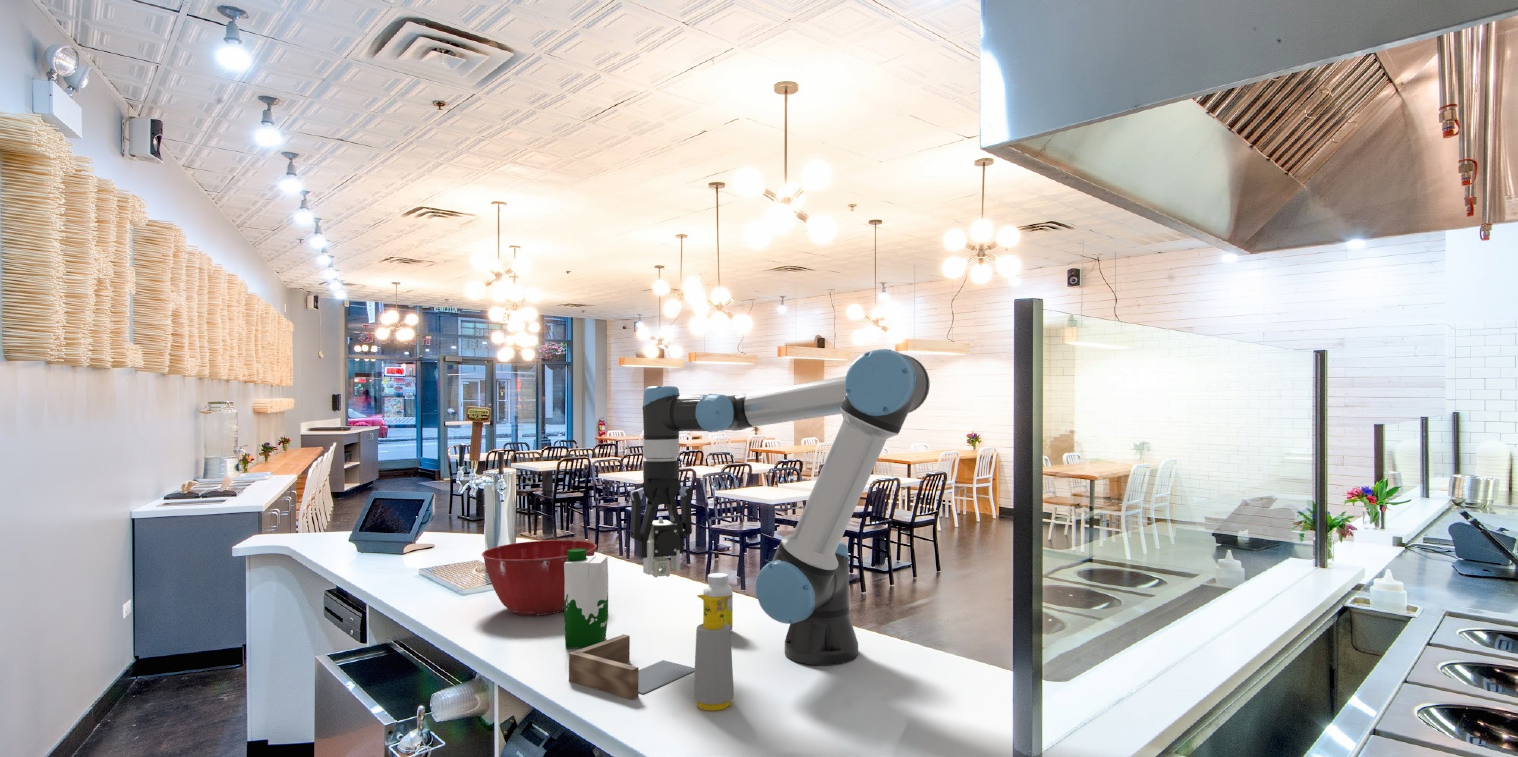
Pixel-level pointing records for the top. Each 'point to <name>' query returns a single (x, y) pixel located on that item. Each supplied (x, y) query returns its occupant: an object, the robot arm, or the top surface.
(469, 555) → the top surface
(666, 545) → the pneumatic valve
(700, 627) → the soap bottle
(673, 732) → the top surface
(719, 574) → the supplement bottle
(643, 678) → the slate pad
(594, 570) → the milk carton
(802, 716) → the top surface
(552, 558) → the mixing bowl
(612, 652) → the walnut corner
